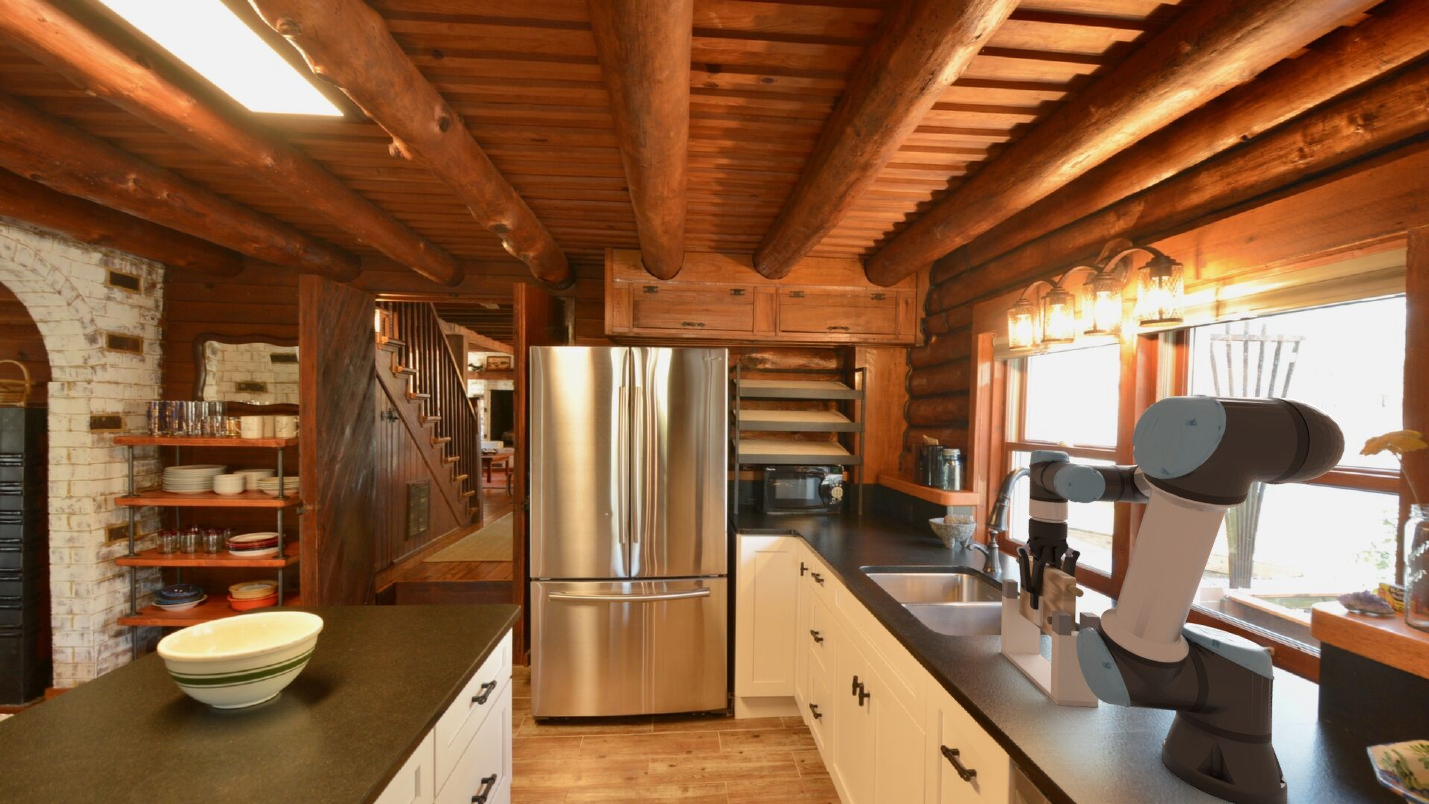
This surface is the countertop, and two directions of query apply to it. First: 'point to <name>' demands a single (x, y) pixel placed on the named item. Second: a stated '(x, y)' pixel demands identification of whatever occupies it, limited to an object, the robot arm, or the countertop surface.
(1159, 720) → the countertop surface
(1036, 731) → the countertop surface
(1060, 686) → the cabinet frame
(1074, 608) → the oak door
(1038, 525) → the robot arm
